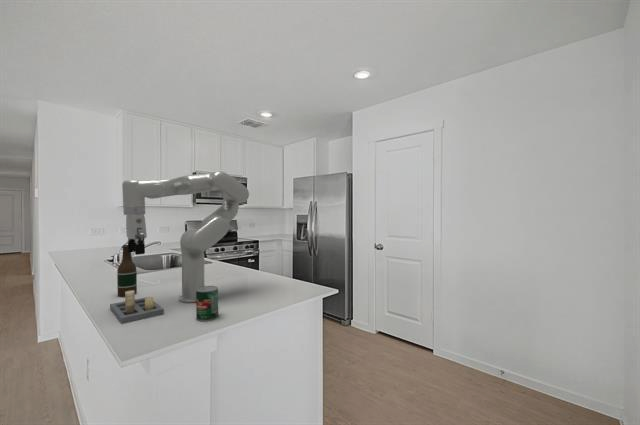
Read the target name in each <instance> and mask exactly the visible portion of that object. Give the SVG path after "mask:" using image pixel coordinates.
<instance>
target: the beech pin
mask: <svg viewBox="0 0 640 425" xmlns="http://www.w3.org/2000/svg"><path fill="white" fill-rule="evenodd" d="M135 296H136V294H135V291H134V290H129V291H126V292H125V297H124V299H125V312H126V315H128V314H133V313H135V299H136V298H135Z"/></svg>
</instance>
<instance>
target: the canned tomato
mask: <svg viewBox="0 0 640 425" xmlns="http://www.w3.org/2000/svg"><path fill="white" fill-rule="evenodd" d="M195 307H196V309H195V310H196V315H195V317H196V320H197V321H199V322H210V321H213V320H216V319H218V318H219V287H218V286H215V285H204V287H200V288H197V289H196V302H195Z"/></svg>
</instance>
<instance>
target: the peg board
mask: <svg viewBox="0 0 640 425" xmlns="http://www.w3.org/2000/svg"><path fill="white" fill-rule="evenodd" d="M109 309H110V311H111V312H112V314H113V315H114V316H115V317H116V319H117V320H118V322H120V324H121V325H122V324H127V323H132V322H135V321H140V320H143V319H144V320H146V319H149V318H152V317H157V316H162V315H164V314H165V310H164V307H162V306H160V305H159V304H158V303H157V302H155V298H154V296H147V297H140V298H135V313H133V314H128V315H126V312H125V301H120V302H119V301H118V302H114V303H109Z"/></svg>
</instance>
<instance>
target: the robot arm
mask: <svg viewBox="0 0 640 425" xmlns="http://www.w3.org/2000/svg"><path fill="white" fill-rule="evenodd" d="M121 188H122V204H123V206H122V207H123V208H122V209H123V216H126V218H125V220H126V221H125V227H126V228H125V229H126V230H125V232H126V238H127V245H128V252H131V253H135V255H136V256H138V255H145V253H146V249H145V248H146V247H145V246H146V245H145V239H146V238H147V236H148V235H147V224H146V217H145V215H146V199H151V200H154V199H160V198H165V197H172V196H187V195H194V194H199V193H200V194H201V193H206V192H213V191H218V190H220V192H222V193H223V200H222V204H221V205H220V206H219V207H218V208H217V209H216V210H214V211H213V212H212V213H210V214H209V215H208V216H206V217H204V219H203V220H202V222H201V225H200V228H199V229H189V230H185V232H183V234H181V236H180V240H179V241H180V244H179V245H180V252H181V295H180V296H178V299H177V300H178V302H180V303H187V304H188V303H196V289H197V288H200V287H204V286H205V251H207V250H210V248H212V247H213V246H215V245H216V244H217V243H218V242H219V241H220V240H222V239H223V238H224V237H225V236H226V235H227V233H228V232H229V230H230V223H231V221H232V220H234V218H236V216H237V215H238V211H239V207H240V206H239V205H240V204H242V203H245V202H246V201H248V199H249V196H250V192H249V189H248V188H247V187H246V186H245V185H244V184H243V183H241V182H240V181H238V180H237V179H235V178H234V177H232V175H230V174H228V173H227V172H224V171H222V170H220V171H214V172H207V173H199V174H187V175H183V176H179V177H176V178H170V179H164V180H159V179H158V180H157V179H155V180H154V179H153V180H152V179H151V180H135V179H134V180H132V179H131V180H129V179H128V180H124V181H123V182H122V186H121Z"/></svg>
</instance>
